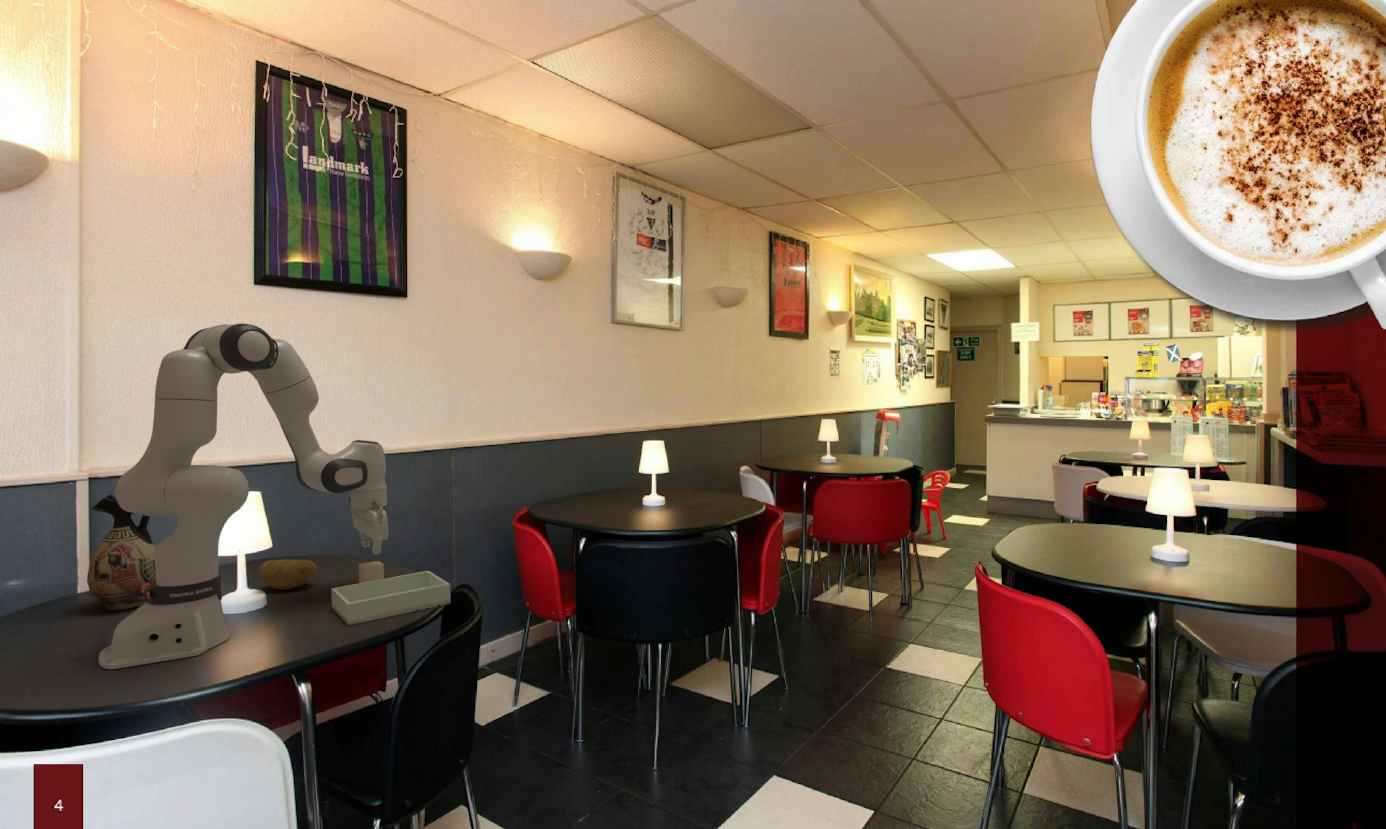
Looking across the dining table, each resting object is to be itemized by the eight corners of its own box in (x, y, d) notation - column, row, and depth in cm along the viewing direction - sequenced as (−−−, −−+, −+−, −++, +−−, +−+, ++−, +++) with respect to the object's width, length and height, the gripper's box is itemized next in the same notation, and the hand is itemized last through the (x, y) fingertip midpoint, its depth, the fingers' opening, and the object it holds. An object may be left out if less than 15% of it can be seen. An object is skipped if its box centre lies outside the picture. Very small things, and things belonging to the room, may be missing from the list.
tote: (348, 625, 163) (347, 604, 162) (331, 608, 175) (331, 588, 174) (450, 603, 178) (450, 584, 178) (428, 588, 190) (428, 570, 190)
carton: (364, 593, 186) (363, 568, 185) (359, 589, 190) (358, 564, 189) (384, 590, 189) (383, 564, 189) (378, 585, 193) (378, 560, 192)
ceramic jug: (78, 619, 168) (71, 495, 166) (101, 599, 182) (95, 485, 180) (165, 608, 174) (158, 489, 172) (181, 591, 188) (175, 480, 187)
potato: (310, 592, 187) (309, 562, 187) (252, 595, 185) (251, 565, 184) (322, 581, 197) (321, 553, 196) (267, 584, 194) (266, 556, 194)
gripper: (393, 504, 182) (395, 556, 183) (370, 492, 198) (372, 540, 199) (368, 507, 178) (370, 560, 179) (346, 495, 194) (348, 544, 195)
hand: (371, 550), depth 189 cm, fingers open, 8 cm apart
